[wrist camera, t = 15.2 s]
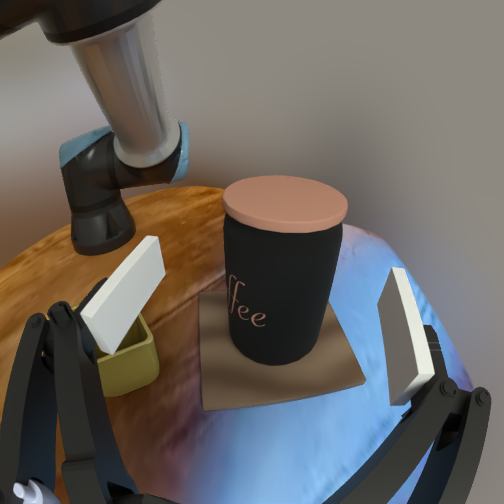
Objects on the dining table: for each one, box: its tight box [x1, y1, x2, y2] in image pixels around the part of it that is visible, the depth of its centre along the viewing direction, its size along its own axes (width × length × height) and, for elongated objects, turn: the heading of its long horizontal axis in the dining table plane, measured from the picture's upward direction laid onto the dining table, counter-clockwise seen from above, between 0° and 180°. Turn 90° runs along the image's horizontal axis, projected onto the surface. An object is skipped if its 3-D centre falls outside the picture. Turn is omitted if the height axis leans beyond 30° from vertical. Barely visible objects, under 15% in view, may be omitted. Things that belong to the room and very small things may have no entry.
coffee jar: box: [222, 175, 348, 366], centre depth 28 cm, size 11×11×18 cm
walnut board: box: [199, 290, 366, 411], centre depth 33 cm, size 18×18×1 cm
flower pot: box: [71, 305, 160, 397], centre depth 25 cm, size 9×9×9 cm
